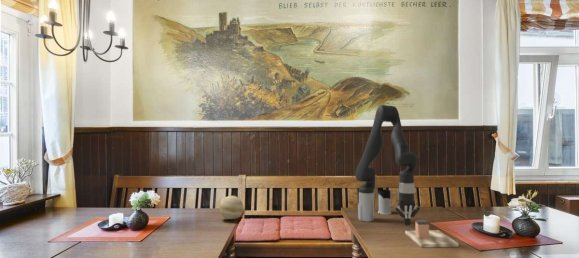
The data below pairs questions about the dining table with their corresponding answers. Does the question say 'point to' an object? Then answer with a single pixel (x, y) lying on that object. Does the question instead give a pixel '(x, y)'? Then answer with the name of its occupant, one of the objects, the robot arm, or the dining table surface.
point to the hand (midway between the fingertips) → (407, 225)
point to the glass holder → (385, 201)
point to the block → (422, 229)
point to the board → (433, 239)
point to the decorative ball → (231, 207)
